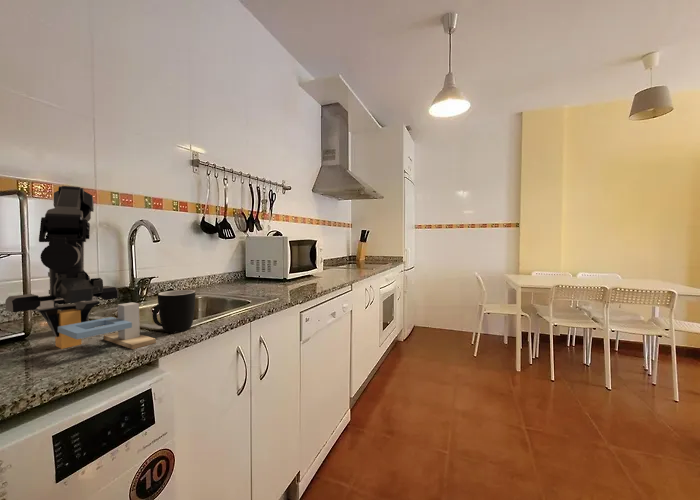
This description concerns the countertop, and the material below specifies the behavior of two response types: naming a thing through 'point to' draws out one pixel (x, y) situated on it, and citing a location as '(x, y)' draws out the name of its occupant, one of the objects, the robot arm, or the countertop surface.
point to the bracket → (108, 324)
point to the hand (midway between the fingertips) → (68, 334)
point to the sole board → (130, 340)
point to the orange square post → (66, 319)
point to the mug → (175, 310)
